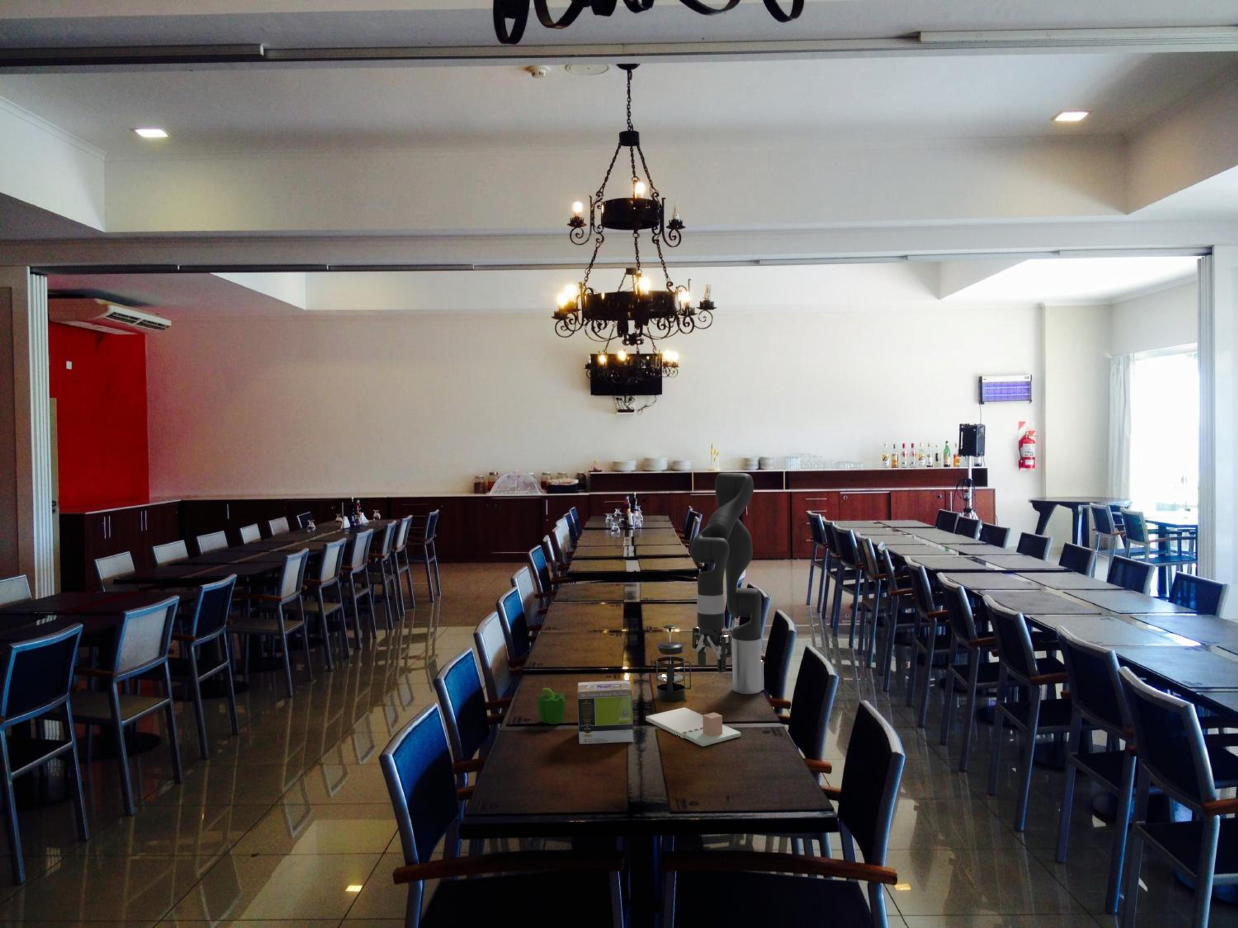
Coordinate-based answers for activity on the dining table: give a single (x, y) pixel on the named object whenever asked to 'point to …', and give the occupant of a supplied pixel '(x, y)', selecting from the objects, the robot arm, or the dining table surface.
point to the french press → (671, 671)
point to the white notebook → (678, 721)
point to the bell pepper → (551, 707)
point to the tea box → (605, 712)
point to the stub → (712, 731)
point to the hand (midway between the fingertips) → (711, 668)
